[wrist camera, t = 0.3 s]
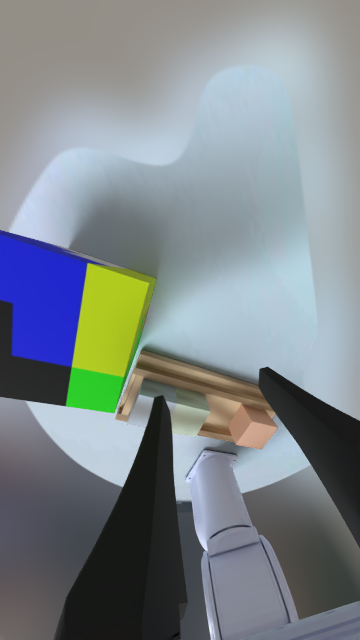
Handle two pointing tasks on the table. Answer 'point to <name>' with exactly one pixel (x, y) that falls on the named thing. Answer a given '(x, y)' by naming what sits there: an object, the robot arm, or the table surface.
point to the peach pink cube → (251, 427)
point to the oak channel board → (208, 376)
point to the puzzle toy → (67, 324)
